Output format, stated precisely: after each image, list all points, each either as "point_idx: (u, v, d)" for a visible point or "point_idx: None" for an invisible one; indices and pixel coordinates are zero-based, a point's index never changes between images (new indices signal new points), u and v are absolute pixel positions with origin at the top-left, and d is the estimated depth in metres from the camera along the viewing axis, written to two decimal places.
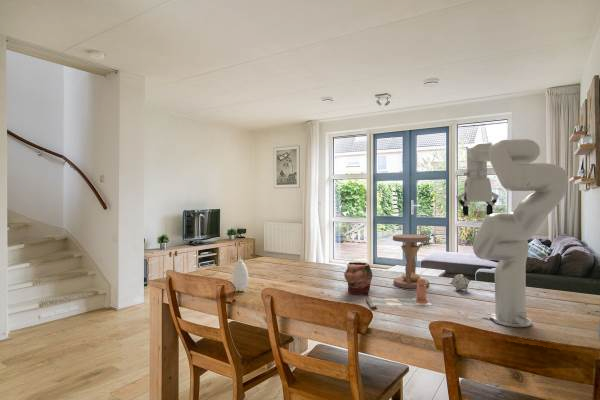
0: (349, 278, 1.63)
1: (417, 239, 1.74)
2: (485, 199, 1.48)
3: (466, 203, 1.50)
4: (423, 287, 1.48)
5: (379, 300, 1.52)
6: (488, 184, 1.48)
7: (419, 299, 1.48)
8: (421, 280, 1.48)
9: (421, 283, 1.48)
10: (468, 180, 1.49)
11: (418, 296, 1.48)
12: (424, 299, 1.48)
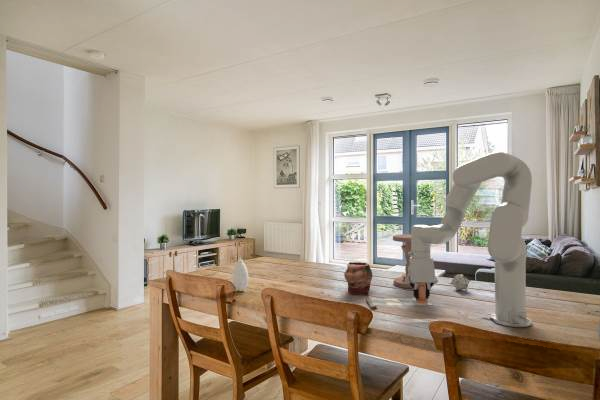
0: (349, 278, 1.63)
1: None
2: (428, 280, 1.46)
3: (415, 286, 1.48)
4: (423, 287, 1.48)
5: (379, 300, 1.52)
6: (431, 265, 1.47)
7: (419, 299, 1.48)
8: None
9: (421, 283, 1.48)
10: (411, 261, 1.47)
11: (418, 296, 1.48)
12: (424, 299, 1.48)
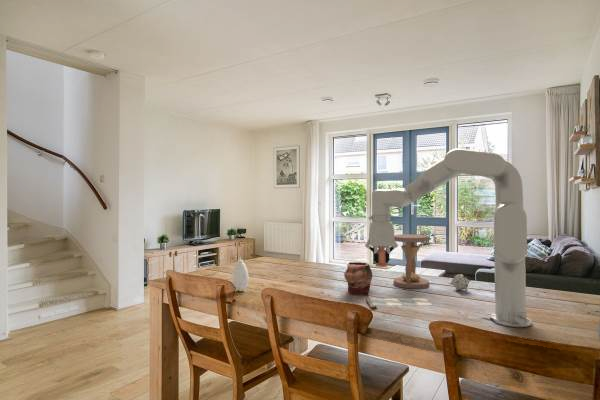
0: (349, 278, 1.63)
1: (417, 239, 1.74)
2: (387, 244, 1.47)
3: (375, 250, 1.49)
4: (383, 251, 1.48)
5: (379, 300, 1.52)
6: (391, 229, 1.47)
7: (379, 263, 1.49)
8: None
9: (381, 247, 1.48)
10: (371, 225, 1.48)
11: (378, 260, 1.49)
12: (384, 263, 1.48)
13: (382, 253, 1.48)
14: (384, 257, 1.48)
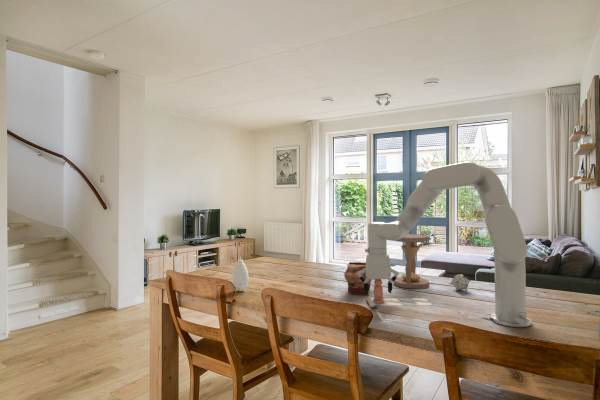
0: (349, 278, 1.63)
1: (417, 239, 1.74)
2: (384, 277, 1.47)
3: (366, 280, 1.49)
4: (379, 287, 1.48)
5: None
6: (387, 262, 1.47)
7: (376, 299, 1.49)
8: (378, 280, 1.49)
9: (377, 283, 1.48)
10: (367, 258, 1.48)
11: (375, 296, 1.49)
12: (380, 299, 1.48)
13: (379, 289, 1.48)
14: (381, 293, 1.48)
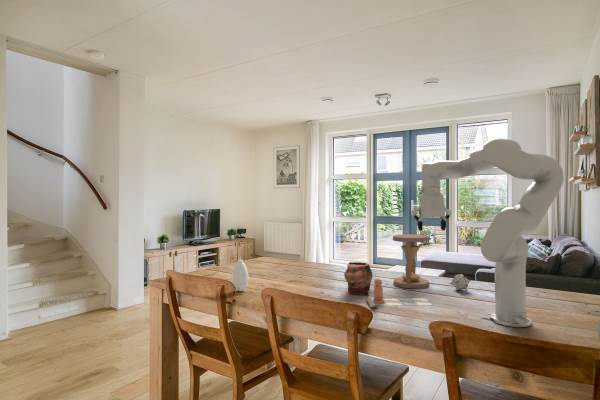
0: (349, 278, 1.63)
1: (417, 239, 1.74)
2: (438, 215, 1.53)
3: (420, 218, 1.55)
4: (379, 287, 1.48)
5: None
6: (441, 200, 1.53)
7: (376, 299, 1.49)
8: (377, 280, 1.49)
9: (377, 283, 1.48)
10: (422, 196, 1.54)
11: (375, 296, 1.49)
12: (380, 299, 1.48)
13: (379, 289, 1.48)
14: (381, 293, 1.48)
